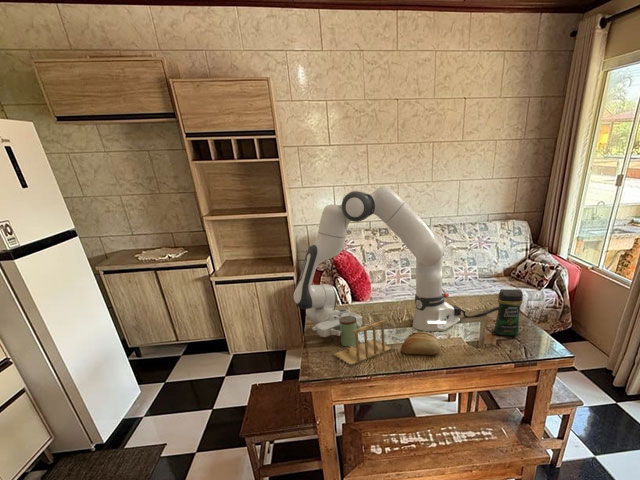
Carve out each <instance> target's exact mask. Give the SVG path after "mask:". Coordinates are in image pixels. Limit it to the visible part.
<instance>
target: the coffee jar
mask: <svg viewBox="0 0 640 480" xmlns="http://www.w3.org/2000/svg"><path fill="white" fill-rule="evenodd" d="M523 293H524V292H523V291H522V289H504V288H502V289H500V290H499V294H498V297H497V302H498V307H499V309H497V310H498V311H497V316H496V320H495V324H494V332H495V334H497V335H498V336H507V337H508V336H517V335H518V334H519V331H520V329H519V328H520V311H521V306H522V304H523V302H524V294H523Z"/></svg>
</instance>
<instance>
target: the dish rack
mask: <svg viewBox="0 0 640 480" xmlns="http://www.w3.org/2000/svg"><path fill="white" fill-rule="evenodd" d="M385 324H386V320H384V319H382V320H379V321H376V322H374V323H371V324H367V325H365V326H361V328H359V329H356V330H353V333H355V339H356V345H354V346H347V347H346V349H342V350H340V351H337V352H334V353H333V355H334V356H335V357H337V358H339V359H340V360H342V361H343V362H345V363H347V364H349V365H353V364H356V363H358V362H361V361H363V360H365V359H368V358H371V357H374V356H375V355H378V354H381V353H383V352H385V351H388V350H391V349H392V347H391V346H389V345H387V344H386V343H385V327H384V325H385ZM378 326H380V332H381V333H380V334H381V335H380V337H381V342H380V341H378V340H377V335H376V334H377V333H376V332H377V331H376V327H378ZM370 329H372V339H371V340H368V330H370ZM361 332H363V339H364V342H362V343H360V342H359V333H361Z"/></svg>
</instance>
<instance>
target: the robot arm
mask: <svg viewBox="0 0 640 480" xmlns="http://www.w3.org/2000/svg"><path fill="white" fill-rule="evenodd" d="M372 215H375V216H377V217H378V218H379V219H380V220H381V221H382V222H383V223H384V224H385V225H386V226H387V227H388V228H389V229H390V230H391V231H392V232H393V233H394V234H395V235H396V236H397V237H398V238H399V240H400V241H401V242H402V243H403V244H404V245H405V246H406V248H407V249H408V250H409V252H410V253H411V254H412V255H413V256H414V257H415V294H414V303H415V305H414V313H413V318H412V325H411V326H412V327H413V328H414V329H417V330H419V331H423V332H435V331H436V332H444V331H446V330H448V329H449V328H451V327H453V326H454V325H456V324H457V323H459V322H461V318H460V316H461V314H463V318H468V319H469V318H477V317H481V316H484V315H487V314H489V313H491V312H493V311H495V310H499V306H496V307H492V308H490V309H488V310H487V311H485V312H481V313H477V314H475V315H474V314H473V315H466V311H465V310H464V309H462V308H461V307H459V306H457V305H456V304H455V305H452V304H450V303H448V302H447V301H446V300H445V299H449V298H450V294H449V293H447V292H443V259H444V258H443V257H444V253H445V251H444V243H443V242H444V241H443V239H442V237H441V235H440V234H439V233H438V232H436V231H433V230H431V229H430V227H428V226H427V224H426V223H425V222H424V221H423V219H422V217H420V216H419V215H418V213H416V212H415V211H414V209H413V208H412V207H411V206H409V204H408V203H407V202H406V201H405V200H404V199H403V198H402V197H401V196H400V195H399V194H397V193H396V192H395V191H394V190H392V189H390V188H389V187H388V186H385V185H382V186H379V187H377V188H376V189H375V190H374V191H373V192H372V193H366V191H363V190H359V189H356V190H351V191H349V192H348V193H347V194H346V195H345V196H344V197H343V199H342V201H341V204H335V203H334V204H328V205H326V206H324V208H323V211H322V214H321V216H320V220H319V225H318V231H317V236H316V238H315V241H314V242H313V244H312V245H310V246H309V247H308V249H307V251H306V254H305V257H304V259H303V260H304V261H303V264H302V267H301V271H300V274H299V278H298V281H297V284H296V286H295V288H294V291H293V294H292V295H293V296H292V298H293V302H294V304H295V305H296V307H298V308H299V309H301V310H305V316H306V317H307V319H308V321H310V322H311V323H312V324H313V327H311V330H312V331H313V332H316V334H317V335H318V336H319V337H320V338H327V337H330V336H338V337H339V336H340V337H341V335H342V331H340V325H339V319H340V318H341V317H344V316H353V317H356V323H357V329H359V328H362V325H363V317H362V316H361V315H360V314H358V313H356V312H353V311H350V310H349V309H336V306H337V303H338V295H337V292H336V290H335V288H334V287H333V286H332V285H330V284H313V280H314V277H315V273H316V270H317V268H318V267H319V265H320V264H322V263H323V262H325V261H327V260H330V259H332V258H335V257H337V256H338V255H339V254H341V253H342V251H343V249H344V247H345V243H346V236H347V231H348V226H349V224H350V223H351V222H353V223H358V222H363V221H364V220H366V219H367V218H369V217H370V216H372ZM461 312H462V313H461Z"/></svg>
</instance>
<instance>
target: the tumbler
mask: <svg viewBox="0 0 640 480" xmlns="http://www.w3.org/2000/svg"><path fill="white" fill-rule="evenodd" d="M339 325H340V331H342V335H340V343H341V345H342V346H344V347H353V346H356V339H355V333H353V330H356V329H357V323H356V317H353V316H344V317H341V318H340V319H339Z"/></svg>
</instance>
